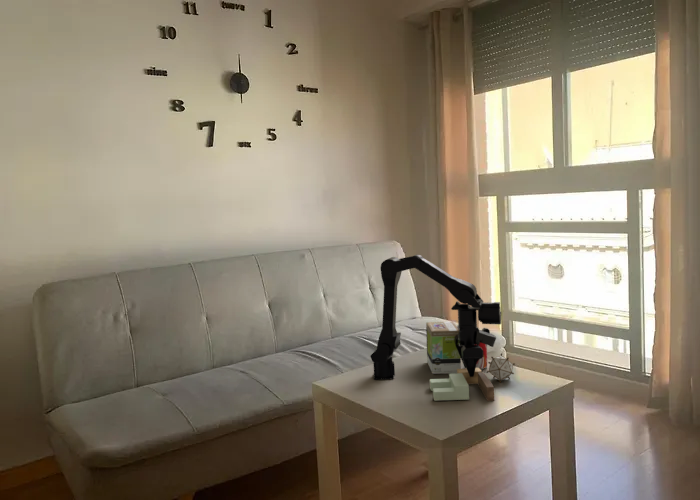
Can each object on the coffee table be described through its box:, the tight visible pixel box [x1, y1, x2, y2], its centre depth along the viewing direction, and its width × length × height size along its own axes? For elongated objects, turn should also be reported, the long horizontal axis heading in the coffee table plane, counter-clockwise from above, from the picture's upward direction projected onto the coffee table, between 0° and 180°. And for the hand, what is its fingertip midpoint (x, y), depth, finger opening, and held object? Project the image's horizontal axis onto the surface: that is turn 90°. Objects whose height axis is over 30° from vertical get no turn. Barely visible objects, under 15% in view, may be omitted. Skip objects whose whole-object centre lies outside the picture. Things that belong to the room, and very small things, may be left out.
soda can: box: [475, 343, 488, 371], centre depth 197 cm, size 7×7×12 cm
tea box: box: [425, 321, 462, 375], centre depth 200 cm, size 15×10×15 cm, turn 179°
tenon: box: [457, 367, 483, 385], centre depth 183 cm, size 7×4×4 cm, turn 91°
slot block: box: [429, 373, 470, 402], centre depth 173 cm, size 10×12×4 cm
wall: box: [477, 371, 495, 402], centre depth 173 cm, size 2×14×4 cm, turn 178°
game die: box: [486, 353, 516, 384], centre depth 183 cm, size 9×8×10 cm
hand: (469, 372), depth 183 cm, fingers open, 9 cm apart
